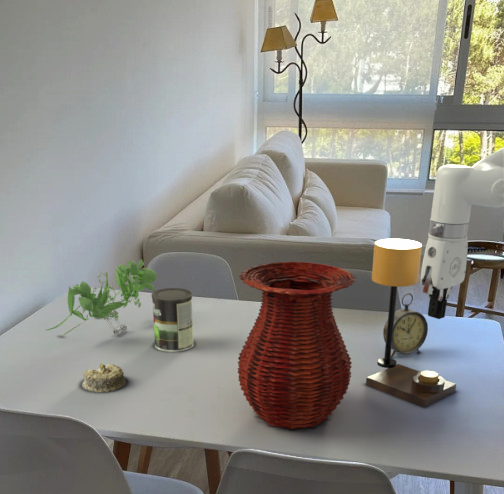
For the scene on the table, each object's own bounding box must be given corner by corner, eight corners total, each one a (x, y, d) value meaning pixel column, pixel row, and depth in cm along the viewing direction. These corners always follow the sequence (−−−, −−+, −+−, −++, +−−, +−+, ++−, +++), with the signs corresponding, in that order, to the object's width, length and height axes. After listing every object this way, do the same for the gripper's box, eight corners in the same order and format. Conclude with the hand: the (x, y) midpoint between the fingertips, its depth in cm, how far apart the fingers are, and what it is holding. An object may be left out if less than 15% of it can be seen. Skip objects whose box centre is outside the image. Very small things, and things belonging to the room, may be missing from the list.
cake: (134, 386, 163) (134, 365, 160) (98, 400, 156) (97, 378, 154) (109, 371, 168) (108, 350, 166) (73, 383, 162) (71, 362, 159)
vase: (261, 384, 162) (263, 255, 149) (361, 402, 154) (372, 267, 141) (218, 428, 143) (216, 284, 130) (329, 450, 135) (339, 299, 122)
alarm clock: (389, 361, 175) (395, 298, 168) (377, 354, 180) (383, 292, 173) (426, 355, 179) (433, 293, 172) (413, 348, 184) (420, 287, 177)
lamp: (417, 365, 163) (431, 244, 151) (391, 376, 157) (403, 251, 145) (382, 353, 170) (393, 236, 158) (356, 363, 164) (365, 243, 152)
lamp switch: (441, 381, 156) (442, 374, 155) (430, 386, 154) (431, 378, 153) (426, 375, 159) (426, 368, 158) (415, 380, 156) (416, 373, 155)
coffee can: (158, 354, 179) (155, 301, 173) (151, 341, 188) (148, 289, 182) (198, 350, 182) (196, 297, 176) (189, 337, 191) (187, 286, 184)
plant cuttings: (57, 376, 183) (110, 337, 171) (18, 321, 181) (69, 277, 169) (130, 333, 212) (180, 297, 200) (97, 285, 210) (146, 246, 198)
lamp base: (455, 392, 159) (457, 376, 157) (424, 408, 152) (426, 391, 150) (397, 372, 170) (398, 356, 168) (365, 385, 162) (366, 370, 160)
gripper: (443, 238, 135) (430, 329, 143) (484, 228, 144) (470, 314, 152) (410, 231, 140) (400, 319, 148) (453, 222, 149) (441, 305, 157)
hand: (436, 316), depth 150 cm, fingers closed
